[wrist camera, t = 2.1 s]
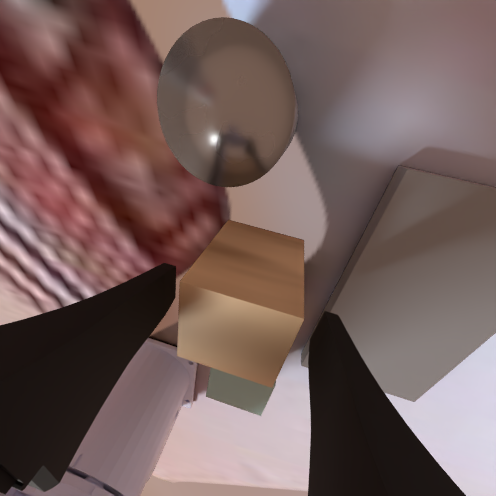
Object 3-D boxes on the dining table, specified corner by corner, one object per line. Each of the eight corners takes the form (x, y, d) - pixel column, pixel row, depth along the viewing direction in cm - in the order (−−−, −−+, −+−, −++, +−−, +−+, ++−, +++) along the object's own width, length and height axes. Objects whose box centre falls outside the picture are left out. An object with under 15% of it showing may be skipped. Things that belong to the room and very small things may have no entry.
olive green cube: (268, 362, 19) (260, 415, 15) (223, 347, 19) (205, 396, 16) (281, 331, 17) (275, 385, 13) (230, 315, 17) (211, 364, 13)
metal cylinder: (283, 177, 11) (273, 200, 8) (201, 157, 12) (158, 170, 8) (311, 68, 9) (317, 33, 6) (209, 48, 9) (155, 4, 6)
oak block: (283, 297, 15) (272, 388, 10) (219, 278, 15) (177, 356, 10) (303, 239, 13) (304, 319, 7) (228, 219, 13) (179, 281, 8)
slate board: (408, 387, 16) (414, 402, 15) (301, 353, 17) (301, 365, 16) (598, 210, 9) (628, 219, 8) (398, 165, 10) (407, 169, 9)
